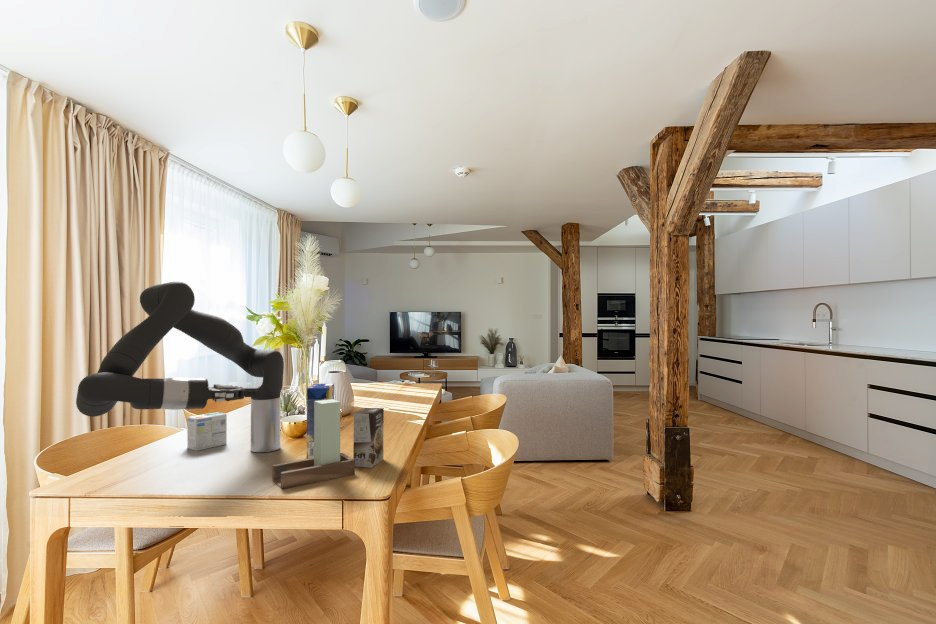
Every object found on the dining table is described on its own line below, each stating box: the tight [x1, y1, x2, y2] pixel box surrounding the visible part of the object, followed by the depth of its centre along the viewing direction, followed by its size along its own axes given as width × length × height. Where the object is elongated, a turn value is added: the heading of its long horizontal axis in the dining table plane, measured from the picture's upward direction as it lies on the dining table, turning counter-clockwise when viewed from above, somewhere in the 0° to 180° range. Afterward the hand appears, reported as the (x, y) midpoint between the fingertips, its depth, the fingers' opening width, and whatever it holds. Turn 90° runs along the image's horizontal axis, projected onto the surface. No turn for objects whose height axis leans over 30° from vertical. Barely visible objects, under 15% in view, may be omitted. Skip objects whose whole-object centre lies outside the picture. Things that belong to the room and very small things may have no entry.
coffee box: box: [352, 407, 385, 469], centre depth 149 cm, size 9×6×16 cm
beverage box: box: [306, 383, 335, 459], centre depth 159 cm, size 7×11×22 cm, turn 8°
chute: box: [271, 452, 356, 490], centre depth 136 cm, size 9×20×4 cm, turn 127°
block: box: [314, 398, 341, 466], centre depth 138 cm, size 6×6×20 cm
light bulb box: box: [186, 411, 228, 452], centre depth 168 cm, size 11×7×11 cm, turn 144°
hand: (259, 392), depth 127 cm, fingers closed
